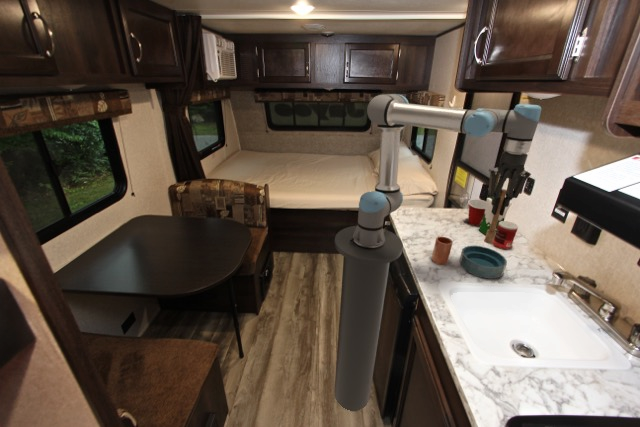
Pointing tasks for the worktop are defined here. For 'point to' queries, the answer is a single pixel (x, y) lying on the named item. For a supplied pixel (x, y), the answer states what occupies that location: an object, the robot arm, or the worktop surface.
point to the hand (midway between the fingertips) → (497, 213)
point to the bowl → (482, 261)
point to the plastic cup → (476, 211)
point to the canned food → (505, 234)
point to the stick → (495, 219)
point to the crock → (442, 250)
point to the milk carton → (491, 216)
